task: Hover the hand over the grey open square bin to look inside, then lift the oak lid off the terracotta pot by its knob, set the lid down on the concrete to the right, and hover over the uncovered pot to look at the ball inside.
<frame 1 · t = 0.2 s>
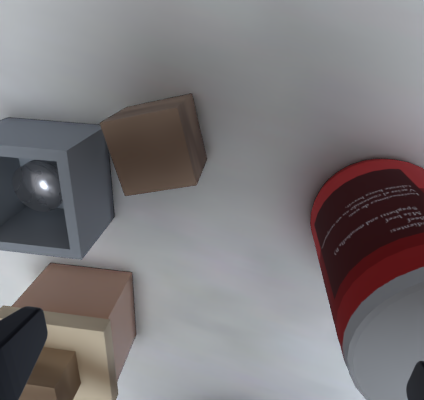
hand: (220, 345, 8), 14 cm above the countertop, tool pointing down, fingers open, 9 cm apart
canned food: (372, 211, 22), on the countertop
dark grey round piece: (59, 173, 23), point 1 cm above the countertop, touching grey open square bin
grey open square bin: (63, 169, 23), on the countertop
walnut block: (167, 133, 21), on the countertop
lid: (63, 351, 23), point 5 cm above the countertop, touching pot A
pot A: (94, 300, 28), on the countertop
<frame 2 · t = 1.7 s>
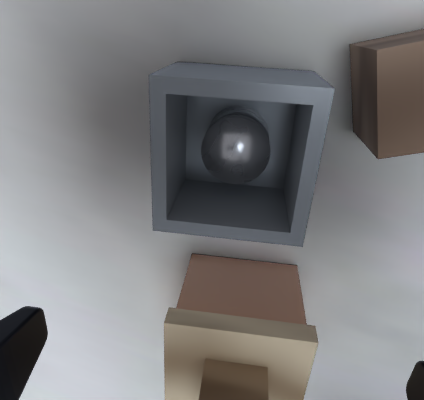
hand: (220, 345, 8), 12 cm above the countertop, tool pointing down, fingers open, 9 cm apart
dark grey round piece: (238, 136, 17), point 1 cm above the countertop, touching grey open square bin
grey open square bin: (238, 132, 18), on the countertop
walnut block: (397, 81, 16), on the countertop
lid: (234, 366, 18), point 5 cm above the countertop, touching pot A
pot A: (239, 299, 23), on the countertop
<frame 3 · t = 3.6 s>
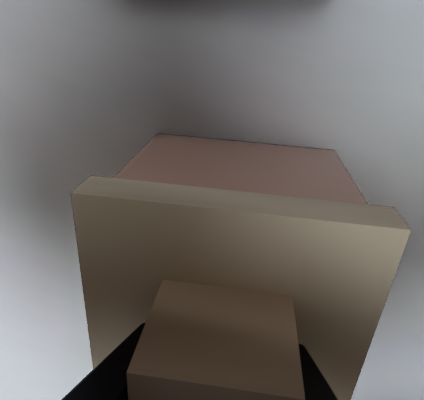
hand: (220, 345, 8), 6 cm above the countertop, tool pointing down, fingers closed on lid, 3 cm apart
lid: (225, 306, 10), point 5 cm above the countertop, touching gripper, pot A
pot A: (235, 219, 14), on the countertop
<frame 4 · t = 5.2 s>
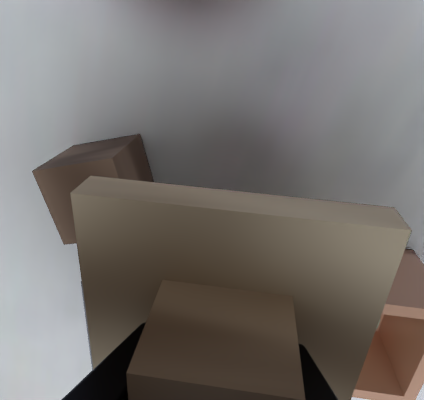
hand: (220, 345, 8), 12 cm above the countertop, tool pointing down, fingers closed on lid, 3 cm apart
walnut block: (116, 173, 20), on the countertop
lid: (225, 306, 10), point 11 cm above the countertop, touching gripper
pot A: (343, 287, 22), on the countertop
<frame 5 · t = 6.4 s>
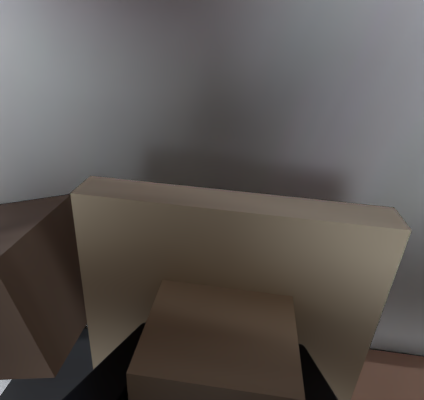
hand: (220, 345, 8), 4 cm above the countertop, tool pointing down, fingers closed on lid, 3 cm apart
grey open square bin: (128, 384, 16), on the countertop
walnut block: (42, 248, 13), on the countertop
lid: (225, 307, 10), point 3 cm above the countertop, touching gripper
when the fingers open (2 cm above the countertop, at t = 7.1 s): lid drops 2 cm, on the countertop.
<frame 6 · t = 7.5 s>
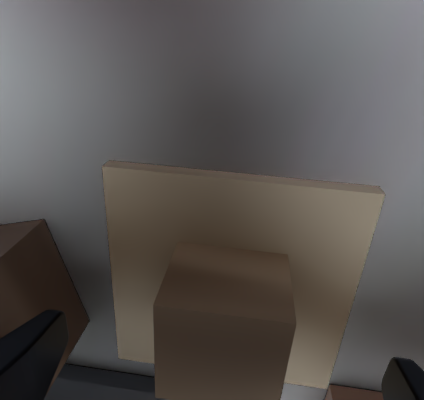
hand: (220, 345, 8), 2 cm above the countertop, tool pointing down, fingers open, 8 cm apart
walnut block: (14, 279, 12), on the countertop
lid: (230, 270, 11), on the countertop
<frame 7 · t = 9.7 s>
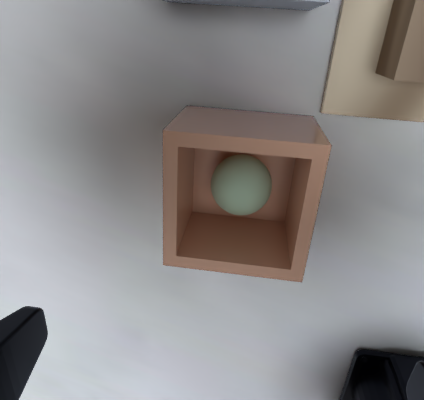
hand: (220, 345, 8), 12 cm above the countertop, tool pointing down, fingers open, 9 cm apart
ball: (242, 173, 19), point 1 cm above the countertop, touching pot A
lid: (411, 38, 16), on the countertop
pot A: (242, 169, 19), on the countertop
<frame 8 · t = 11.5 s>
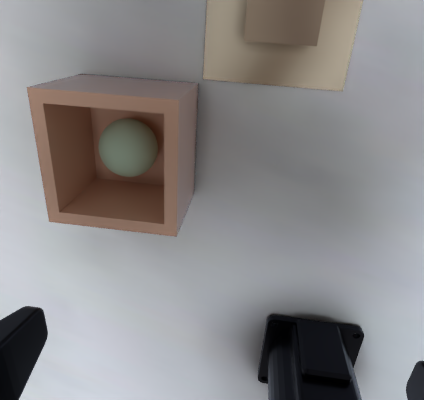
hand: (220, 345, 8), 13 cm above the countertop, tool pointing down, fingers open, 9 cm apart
ball: (137, 139, 20), point 1 cm above the countertop, touching pot A
lid: (281, 7, 17), on the countertop
pot A: (141, 137, 20), on the countertop
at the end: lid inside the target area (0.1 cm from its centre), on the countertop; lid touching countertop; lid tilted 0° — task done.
